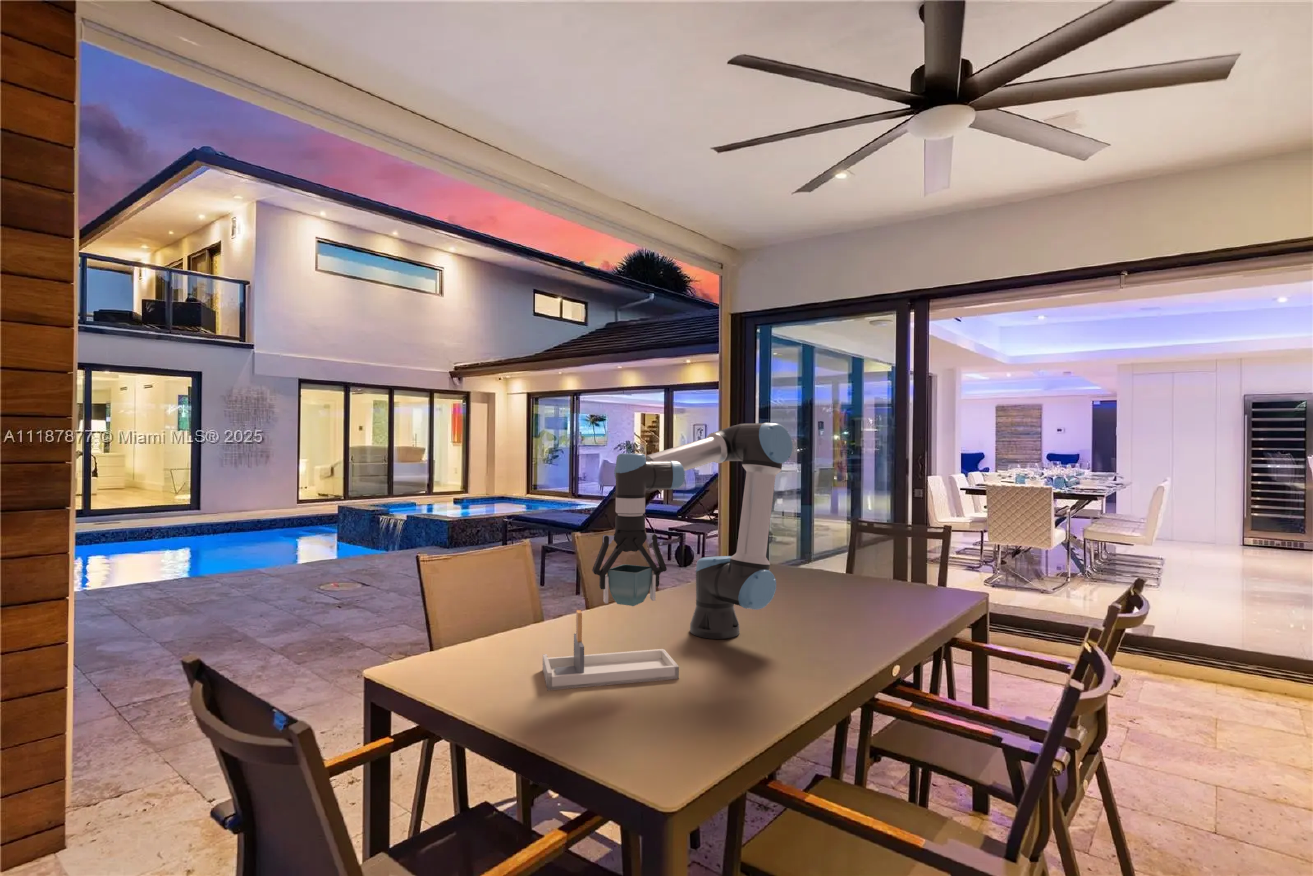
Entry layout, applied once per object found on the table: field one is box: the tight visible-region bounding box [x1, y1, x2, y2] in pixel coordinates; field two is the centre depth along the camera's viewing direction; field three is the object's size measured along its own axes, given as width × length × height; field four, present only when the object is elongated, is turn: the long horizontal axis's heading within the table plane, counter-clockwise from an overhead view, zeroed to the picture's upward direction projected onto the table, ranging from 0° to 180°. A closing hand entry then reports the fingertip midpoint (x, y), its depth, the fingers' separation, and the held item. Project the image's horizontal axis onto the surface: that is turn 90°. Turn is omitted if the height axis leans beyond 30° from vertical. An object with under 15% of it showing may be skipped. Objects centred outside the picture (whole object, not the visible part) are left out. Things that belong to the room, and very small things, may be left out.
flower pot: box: [606, 563, 653, 607], centre depth 163 cm, size 9×9×9 cm
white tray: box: [542, 648, 680, 691], centre depth 161 cm, size 32×14×4 cm, turn 105°
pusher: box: [555, 609, 585, 675], centre depth 159 cm, size 6×11×15 cm, turn 15°
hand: (629, 600), depth 163 cm, fingers closed on flower pot, 11 cm apart
